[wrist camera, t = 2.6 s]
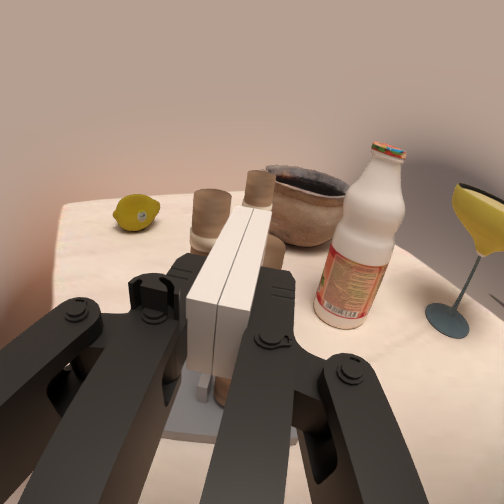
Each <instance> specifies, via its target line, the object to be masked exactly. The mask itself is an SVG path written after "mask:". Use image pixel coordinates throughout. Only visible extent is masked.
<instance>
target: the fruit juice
mask: <svg viewBox="0 0 504 504" xmlns="http://www.w3.org/2000/svg"><path fill="white" fill-rule="evenodd" d="M371 153H372V158H371V160H370V162H369V164H368V165H367V167H366V169H365V171H364V172H363V174H362V175H361V177H360V178H359V179H358V180H357V181H356V182H355V183H354V184H353V185H352V186H350V187H349V189H348V190H347V192H346V194H345V197H344V201H343V217H342V219H341V220H340V221H339V223H338V224H337V226H336V229H335V232H334V235H333V238H332V242H331V246H330V249H329V253H328V256H327V260H326V263H325V267H324V270H323V273H322V277H321V280H320V283H319V287H318V290H317V293H316V296H315V300H314V309H315V312H316V314H317V315H318V316H319V317H320V318H321V319H322V320H323V321H324V322H326V323H327V324H329V325H331V326H334V327H337V328H342V329H352V328H356V327H358V326H360V325H361V324H362V323H363V322H364V320H365V319H366V317H367V315H368V313H369V310H370V308H371V306H372V303H373V301H374V299H375V296H376V294H377V291H378V289H379V287H380V284H381V282H382V279H383V277H384V274H385V271H386V269H387V266H388V264H389V261H390V259H391V256H392V253H393V249H394V245H395V238H394V236H395V233H396V230H397V229H398V228H399V226H400V225H401V223H402V221H403V218H404V214H405V204H404V200H403V197H402V192H401V165H402V163H404V160H405V158H406V151H404V150H402V149H399V148H397V147H394V146H390V145H387V144H384V143H380V142H373V144H372V149H371Z"/></svg>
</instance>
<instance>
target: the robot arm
mask: <svg viewBox="0 0 504 504" xmlns="http://www.w3.org/2000/svg"><path fill="white" fill-rule="evenodd" d="M253 209H254V211H253ZM271 215H272V212H271V211H266V210H260V209H255V208H249V207H243V206H238V205H236V206H235V208H234V209H233V211H232V213H231V215H230V217H229V218H228V220H227V222H226V224H225V226H224V228H223V229H222V231H221V233H220V235H219V237H218V239H217V240H216V242H215V244H214V246H213V248H212V250H211V252H210V253H209V255H208V257H206V256H201V255H196V254H191V253H186V254H185V255H183V256H181V257H179V258H178V259H177V260H176V261H175V262H174V264H173V265H172V267H171V269H170V270H169V271H168V273H167V275H164V274H159V273H148V274H142V275H139V276H137V277H134V278H133V279H132V280H131V281H129V282H128V287H129V296H130V304H131V310H130V311H129V313H123V314H112V313H101V311H100V308H99V305H98V304H97V303H96V302H95V301H94V300H91V299H89V298H84V297H76V298H72V299H68V300H67V301H65V302H63V303H61V304H60V305H58V306H57V307H56V308H54V309H53V310H52V311H50V312H49V313H48V314H46V315H45V316H44V317H43V318H41V319H40V320H38V321H37V322H36V323H34V324H33V325H32V326H30V327H29V328H28V329H27V330H25V331H24V332H23V333H21V334H20V335H19V336H18V337H16V338H15V339H14V340H13V341H12V342H10V343H9V344H8V345H6V346H5V347H4V348H3V349H1V350H0V504H4V502H5V501H6V500H7V499H8V498H9V497H10V496H11V495H12V494H13V493H14V491H15V490H16V489H17V488H18V487H19V486H20V485H21V484H22V483H23V481H24V480H25V479H26V478H27V477H28V476H29V475H30V474H31V473H32V471H33V473H32V475H31V477H30V479H29V481H28V483H27V485H26V488H25V489H24V491H23V494H22V496H21V498H20V500H19V502H18V504H138V501H139V498H140V495H141V492H142V489H143V486H144V484H145V481H146V478H147V475H148V472H149V469H150V467H151V464H152V461H153V458H154V455H155V453H156V450H157V447H158V444H159V442H160V439H161V436H162V433H163V431H164V428H165V425H166V422H167V420H168V417H169V414H170V412H171V409H172V406H173V403H174V401H175V398H176V395H177V393H178V390H179V387H180V385H181V379H182V372H181V370H182V368H183V365H184V363H185V360H186V369H189V370H193V371H197V372H201V373H205V374H209V375H211V373H212V375H214V376H218V377H223V378H228V379H231V383H230V387H229V391H228V395H227V399H226V403H225V407H224V411H223V415H222V419H221V423H220V427H219V431H218V434H217V438H216V442H215V446H214V450H213V454H212V458H211V462H210V465H209V469H208V473H207V477H206V481H205V485H204V488H203V492H202V496H201V500H200V504H283V503H284V495H285V486H286V477H287V468H288V457H289V447H290V436H291V426H292V427H295V428H296V431H297V436H298V440H299V445H300V450H301V454H302V459H303V464H304V468H305V473H306V478H307V483H308V487H309V492H310V497H311V501H312V504H429V503H428V500H427V497H426V494H425V492H424V489H423V486H422V484H421V481H420V478H419V476H418V473H417V470H416V468H415V465H414V463H413V460H412V458H411V455H410V453H409V450H408V448H407V445H406V443H405V440H404V438H403V435H402V433H401V430H400V428H399V426H398V423H397V421H396V419H395V416H394V414H393V412H392V409H391V407H390V405H389V402H388V400H387V398H386V396H385V393H384V391H383V389H382V387H381V384H380V382H379V380H378V378H377V376H376V373H375V371H374V370H373V368H372V367H371V365H370V364H369V363H368V362H367V361H365V360H364V359H363V358H361V357H359V356H356V355H354V354H348V353H340V354H335V355H333V356H331V357H330V358H329V359H327V360H324V359H322V358H319V357H317V356H315V355H312V354H311V353H309V352H307V351H306V350H304V349H303V348H302V347H301V346H300V345H299V344H298V343H297V341H296V339H295V337H294V332H293V327H294V306H295V301H294V300H295V279H294V278H293V276H292V274H291V273H290V271H285V270H280V269H274V268H269V267H264V266H263V260H264V255H265V249H266V244H267V238H268V232H269V227H270V221H271ZM68 363H70V364H69V365H68V366H66V365H67V364H68ZM65 366H66V367H65Z"/></svg>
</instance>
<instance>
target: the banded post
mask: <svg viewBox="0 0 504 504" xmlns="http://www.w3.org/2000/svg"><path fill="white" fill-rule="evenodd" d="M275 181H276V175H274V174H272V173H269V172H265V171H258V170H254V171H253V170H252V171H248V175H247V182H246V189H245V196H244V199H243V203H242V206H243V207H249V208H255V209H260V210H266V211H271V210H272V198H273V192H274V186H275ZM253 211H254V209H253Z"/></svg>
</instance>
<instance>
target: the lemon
mask: <svg viewBox="0 0 504 504" xmlns="http://www.w3.org/2000/svg"><path fill="white" fill-rule="evenodd" d="M159 210H160V203H159V202H158V201H156V200H153V199H152V198H150V197H148V196H146V195H141V194H133V195H129V196H126V197H124V198H122V199H121V200H120V201H119V203H118V205H117V208H116V210H115V211H114V212H113V217H114V218H115V219H116V221H117V222H118V224H119V226H120V227H121V228H123V229H125V230H128V231H138V230H141V229H144V228H145V227H147V226H148V225H150V224H151V223H152V222H153V220H154V219H155V216H156V215H157V214H158V213H159Z"/></svg>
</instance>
